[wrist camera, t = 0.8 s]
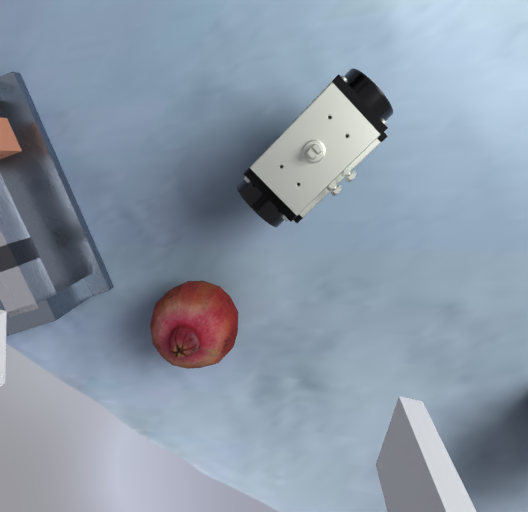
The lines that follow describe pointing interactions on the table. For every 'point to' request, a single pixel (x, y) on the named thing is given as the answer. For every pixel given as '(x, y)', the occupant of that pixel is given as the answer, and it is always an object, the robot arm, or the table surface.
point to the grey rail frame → (40, 225)
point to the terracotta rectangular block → (7, 139)
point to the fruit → (194, 324)
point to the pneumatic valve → (318, 150)
